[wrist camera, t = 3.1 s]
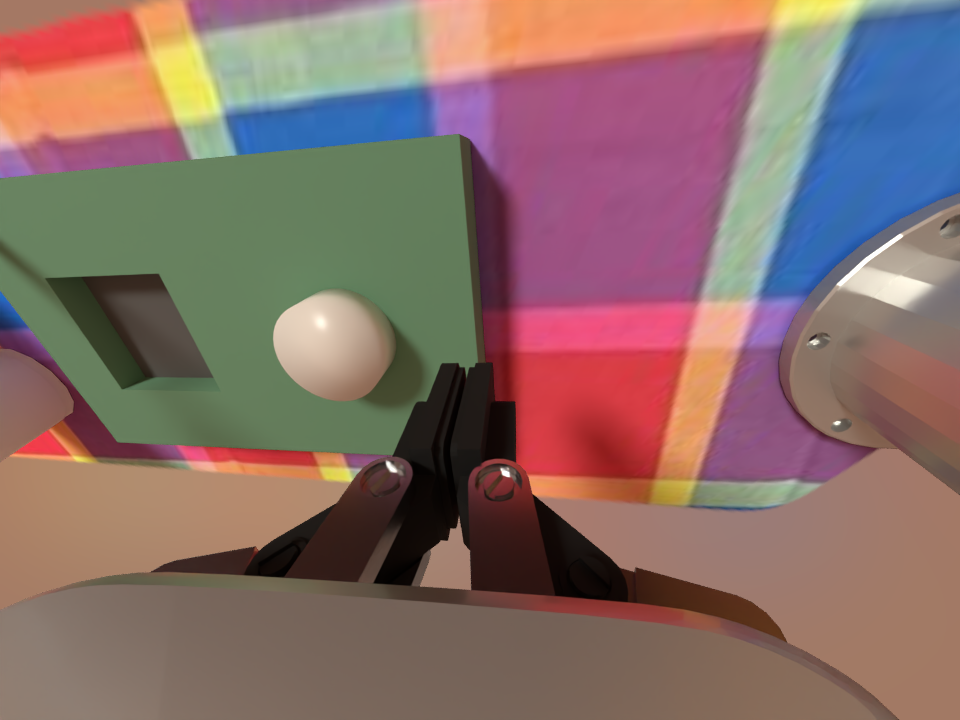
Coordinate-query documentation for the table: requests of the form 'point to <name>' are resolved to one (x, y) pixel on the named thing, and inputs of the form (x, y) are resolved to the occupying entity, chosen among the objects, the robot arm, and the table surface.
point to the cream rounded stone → (335, 344)
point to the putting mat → (246, 285)
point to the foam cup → (28, 401)
